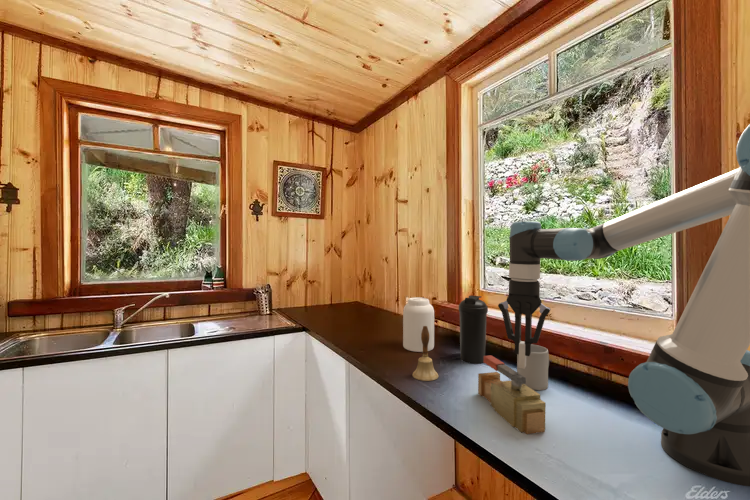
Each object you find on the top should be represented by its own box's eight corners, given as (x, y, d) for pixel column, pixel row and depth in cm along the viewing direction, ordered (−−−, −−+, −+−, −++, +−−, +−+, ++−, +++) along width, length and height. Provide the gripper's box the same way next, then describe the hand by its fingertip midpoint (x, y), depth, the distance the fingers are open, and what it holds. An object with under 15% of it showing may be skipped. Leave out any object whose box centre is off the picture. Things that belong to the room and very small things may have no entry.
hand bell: (407, 375, 106) (407, 326, 105) (423, 368, 111) (424, 322, 111) (426, 383, 100) (427, 331, 99) (443, 376, 105) (444, 326, 105)
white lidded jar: (426, 354, 125) (426, 302, 124) (397, 349, 131) (397, 299, 131) (438, 346, 135) (439, 297, 135) (411, 341, 142) (411, 295, 141)
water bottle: (490, 358, 121) (490, 296, 121) (483, 366, 113) (483, 300, 112) (463, 353, 127) (463, 293, 126) (454, 361, 118) (454, 297, 118)
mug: (536, 393, 93) (537, 354, 93) (510, 382, 101) (511, 346, 100) (560, 383, 100) (561, 347, 99) (534, 373, 107) (534, 340, 107)
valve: (549, 431, 75) (549, 400, 74) (522, 435, 73) (522, 404, 73) (498, 391, 94) (498, 367, 94) (476, 394, 93) (476, 369, 93)
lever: (526, 391, 79) (526, 376, 79) (517, 392, 78) (517, 377, 78) (491, 367, 94) (491, 355, 94) (483, 368, 93) (483, 355, 93)
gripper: (553, 279, 87) (550, 367, 88) (501, 276, 94) (500, 357, 95) (550, 283, 81) (548, 377, 82) (495, 279, 88) (494, 365, 89)
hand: (522, 366), depth 89 cm, fingers closed
